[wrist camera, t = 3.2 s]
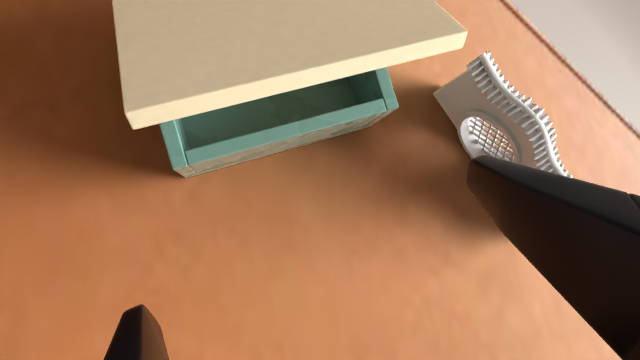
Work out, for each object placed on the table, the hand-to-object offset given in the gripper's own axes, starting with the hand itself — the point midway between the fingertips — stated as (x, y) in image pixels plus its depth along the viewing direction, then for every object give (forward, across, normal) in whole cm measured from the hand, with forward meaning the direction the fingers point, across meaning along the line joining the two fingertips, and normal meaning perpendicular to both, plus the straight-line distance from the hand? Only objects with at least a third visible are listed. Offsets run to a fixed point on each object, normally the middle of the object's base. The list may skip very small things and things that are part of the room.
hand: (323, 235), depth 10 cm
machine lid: (+10, -2, -3) cm, 11 cm away
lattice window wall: (+9, -14, +10) cm, 20 cm away
